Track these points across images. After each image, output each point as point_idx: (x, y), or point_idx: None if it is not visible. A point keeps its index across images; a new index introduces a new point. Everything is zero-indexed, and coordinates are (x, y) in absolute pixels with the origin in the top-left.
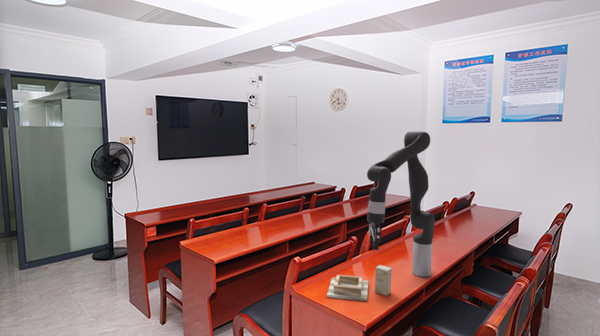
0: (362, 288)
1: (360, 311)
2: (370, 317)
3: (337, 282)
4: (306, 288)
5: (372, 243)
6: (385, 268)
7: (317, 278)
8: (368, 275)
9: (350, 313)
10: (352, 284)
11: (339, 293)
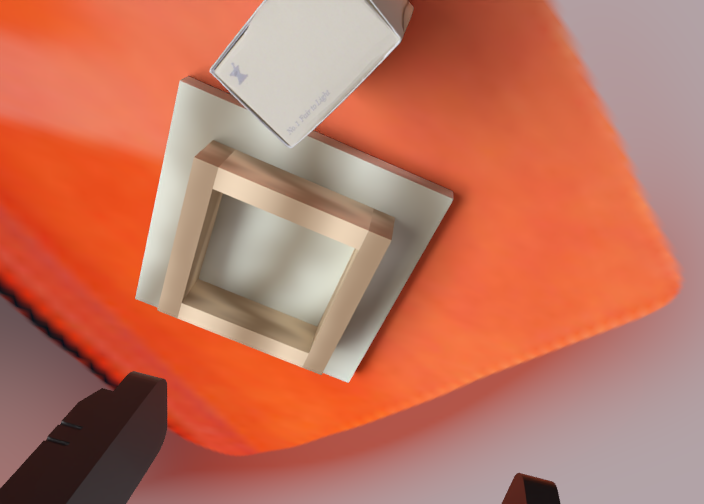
0: (302, 172)
1: (554, 271)
2: (642, 243)
3: (274, 342)
4: (246, 423)
5: (160, 408)
6: (328, 42)
7: (131, 353)
8: (49, 18)
9: (552, 324)
10: (237, 216)
11: (348, 325)
